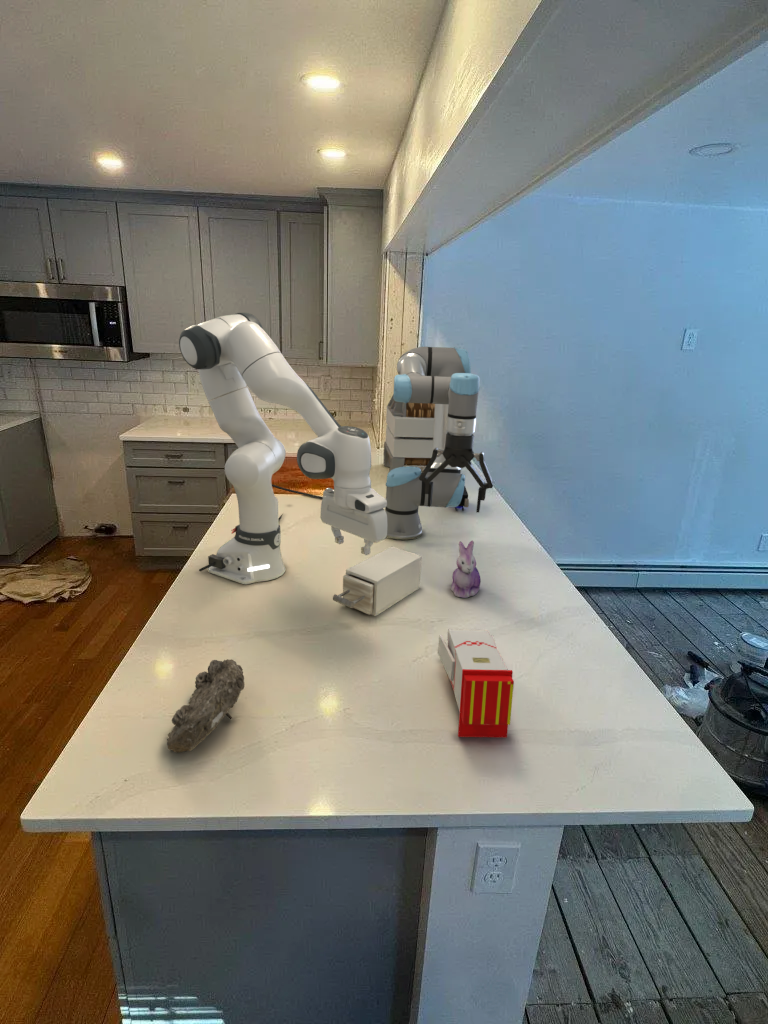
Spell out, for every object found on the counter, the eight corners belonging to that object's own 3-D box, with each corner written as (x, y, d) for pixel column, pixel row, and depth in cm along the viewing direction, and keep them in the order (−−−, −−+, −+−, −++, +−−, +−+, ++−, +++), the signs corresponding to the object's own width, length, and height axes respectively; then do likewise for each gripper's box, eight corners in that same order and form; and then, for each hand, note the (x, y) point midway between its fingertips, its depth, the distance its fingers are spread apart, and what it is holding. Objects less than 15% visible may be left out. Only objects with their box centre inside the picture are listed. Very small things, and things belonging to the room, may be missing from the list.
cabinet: (375, 616, 146) (377, 581, 143) (345, 603, 152) (345, 569, 148) (419, 588, 162) (422, 555, 158) (390, 577, 167) (392, 546, 164)
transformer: (382, 463, 289) (386, 382, 275) (445, 464, 293) (451, 384, 279) (390, 482, 257) (394, 392, 243) (460, 483, 261) (468, 394, 247)
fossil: (192, 660, 117) (244, 628, 112) (224, 691, 120) (276, 661, 115) (142, 746, 98) (202, 712, 93) (182, 779, 101) (242, 748, 96)
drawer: (355, 624, 140) (355, 595, 137) (327, 612, 145) (327, 583, 142) (412, 588, 159) (414, 561, 157) (386, 578, 164) (387, 552, 162)
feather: (290, 508, 223) (292, 504, 223) (272, 532, 197) (275, 527, 196) (286, 505, 223) (289, 501, 223) (268, 529, 197) (271, 525, 196)
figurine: (461, 602, 155) (467, 551, 150) (441, 586, 163) (445, 537, 158) (489, 595, 159) (495, 546, 154) (468, 580, 167) (473, 533, 162)
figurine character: (468, 516, 224) (463, 500, 237) (471, 498, 221) (465, 483, 234) (452, 515, 224) (447, 499, 237) (453, 498, 220) (449, 482, 234)
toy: (488, 613, 130) (523, 677, 101) (484, 667, 133) (517, 744, 104) (435, 612, 130) (455, 676, 101) (432, 666, 133) (451, 743, 103)
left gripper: (314, 488, 140) (315, 540, 145) (373, 508, 127) (372, 564, 132) (333, 483, 144) (333, 533, 149) (392, 502, 131) (390, 556, 136)
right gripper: (411, 431, 150) (407, 506, 158) (507, 440, 145) (498, 517, 152) (417, 426, 157) (412, 498, 164) (508, 434, 152) (499, 509, 159)
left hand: (352, 548), depth 140 cm, fingers open, 8 cm apart
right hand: (453, 508), depth 158 cm, fingers open, 13 cm apart
